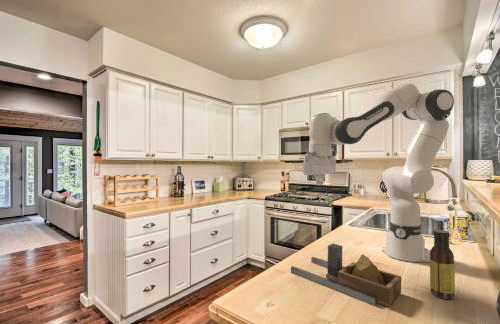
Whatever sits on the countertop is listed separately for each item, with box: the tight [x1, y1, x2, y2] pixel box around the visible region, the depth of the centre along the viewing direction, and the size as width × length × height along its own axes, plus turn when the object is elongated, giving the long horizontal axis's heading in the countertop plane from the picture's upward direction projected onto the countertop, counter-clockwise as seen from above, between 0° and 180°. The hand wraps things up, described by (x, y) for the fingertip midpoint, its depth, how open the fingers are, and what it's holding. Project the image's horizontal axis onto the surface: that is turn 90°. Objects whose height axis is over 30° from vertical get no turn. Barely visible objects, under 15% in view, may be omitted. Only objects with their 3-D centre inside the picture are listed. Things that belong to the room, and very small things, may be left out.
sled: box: [325, 243, 402, 307], centre depth 85 cm, size 11×21×11 cm, turn 44°
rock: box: [351, 254, 386, 286], centre depth 84 cm, size 11×9×10 cm
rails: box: [290, 256, 378, 306], centre depth 90 cm, size 15×30×2 cm, turn 44°
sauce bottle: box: [429, 229, 456, 300], centre depth 80 cm, size 6×6×20 cm
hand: (319, 185), depth 109 cm, fingers closed
